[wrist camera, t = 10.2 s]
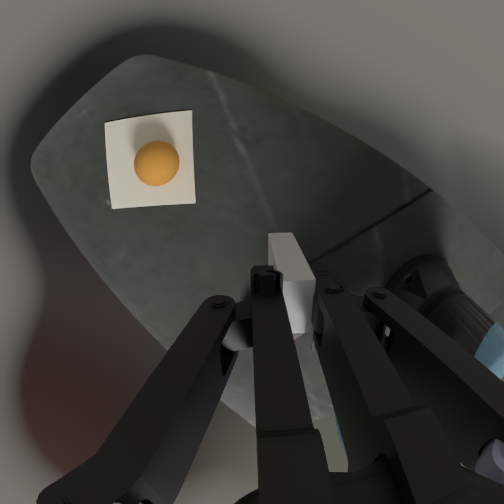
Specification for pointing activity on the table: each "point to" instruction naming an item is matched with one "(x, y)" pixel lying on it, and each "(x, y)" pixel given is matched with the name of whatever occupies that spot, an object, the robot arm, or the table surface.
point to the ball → (156, 163)
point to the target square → (128, 144)
